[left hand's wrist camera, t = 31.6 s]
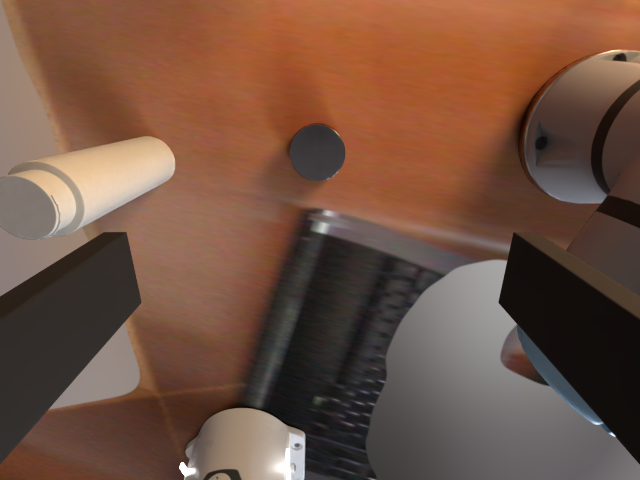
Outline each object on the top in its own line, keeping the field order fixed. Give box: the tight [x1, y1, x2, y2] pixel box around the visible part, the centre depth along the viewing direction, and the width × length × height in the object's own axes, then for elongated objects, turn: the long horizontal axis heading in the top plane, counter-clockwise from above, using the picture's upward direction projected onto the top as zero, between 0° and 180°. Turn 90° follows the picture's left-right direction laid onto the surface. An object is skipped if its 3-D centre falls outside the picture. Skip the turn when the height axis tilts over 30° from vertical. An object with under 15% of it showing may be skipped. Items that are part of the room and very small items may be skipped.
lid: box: [290, 123, 345, 181], centre depth 38 cm, size 6×6×2 cm
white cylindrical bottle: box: [0, 136, 175, 240], centre depth 31 cm, size 5×5×19 cm
